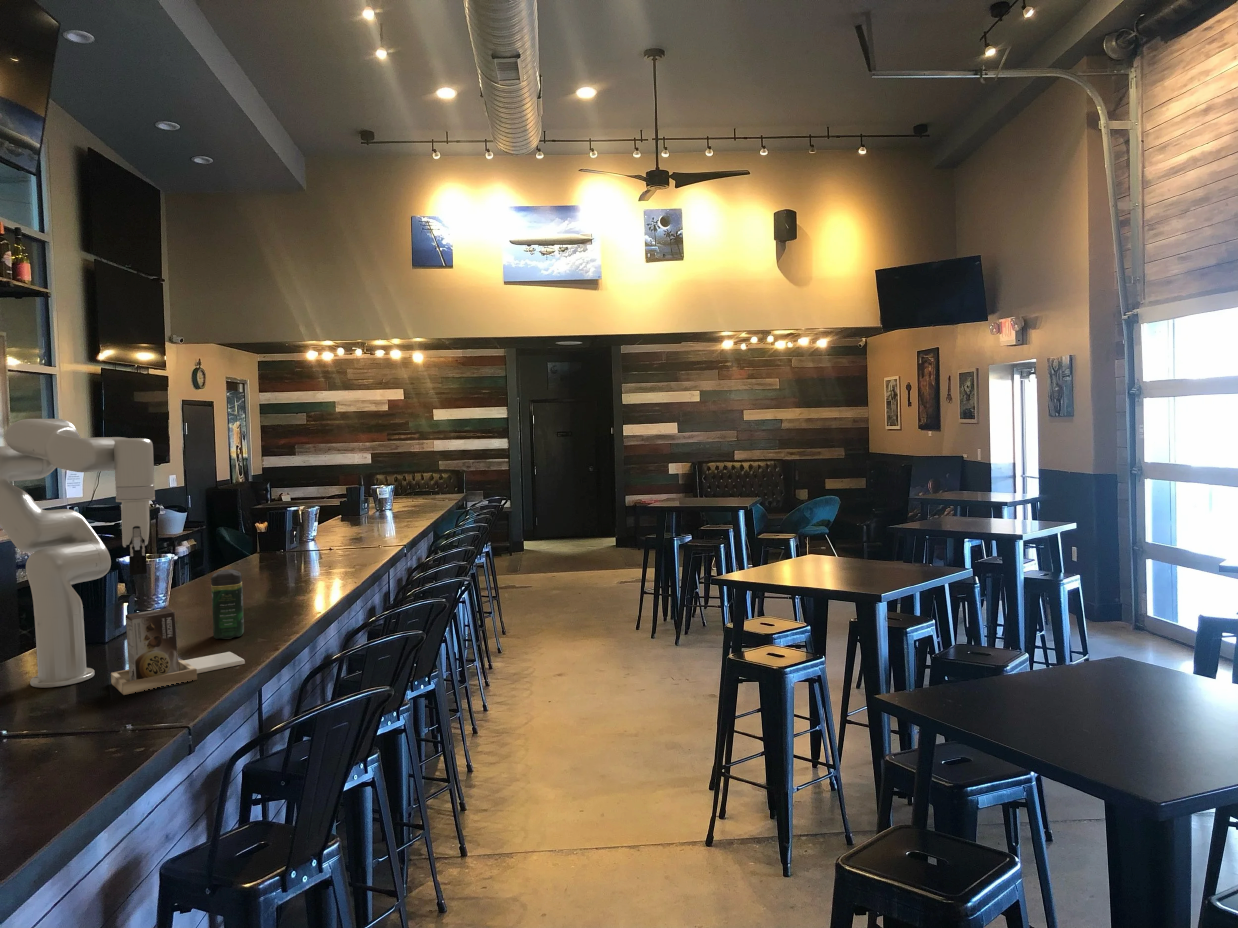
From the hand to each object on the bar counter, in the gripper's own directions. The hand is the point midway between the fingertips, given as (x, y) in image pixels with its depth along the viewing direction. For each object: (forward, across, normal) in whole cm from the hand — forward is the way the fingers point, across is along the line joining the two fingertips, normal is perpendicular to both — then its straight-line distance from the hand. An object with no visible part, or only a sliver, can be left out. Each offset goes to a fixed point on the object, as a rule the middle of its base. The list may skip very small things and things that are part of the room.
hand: (138, 570), depth 189 cm
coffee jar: (+28, -44, +21) cm, 56 cm away
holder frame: (+27, -5, +2) cm, 28 cm away
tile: (+27, -13, +15) cm, 34 cm away
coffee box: (+27, -5, +2) cm, 28 cm away
